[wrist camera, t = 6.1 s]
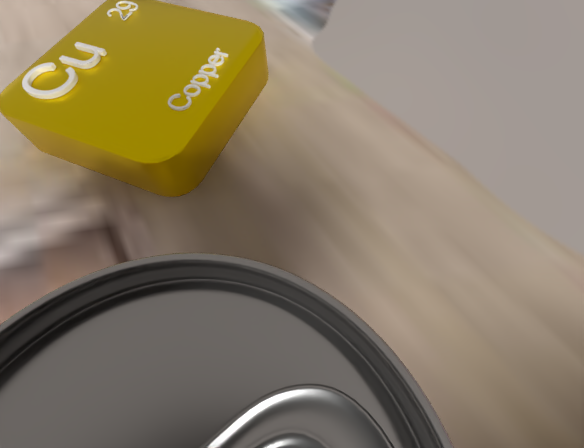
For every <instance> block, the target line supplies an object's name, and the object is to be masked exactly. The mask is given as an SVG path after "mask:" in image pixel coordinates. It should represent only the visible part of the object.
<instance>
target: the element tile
mask: <svg viewBox="0 0 584 448" xmlns="http://www.w3.org/2000/svg"><path fill="white" fill-rule="evenodd" d="M267 81H268V66H267V58H266V49H265V41H264V33H263V31H262V30H261V28H260V27H259V26H257V25H256V24H254V23H252V22H249V21H246V20H241V19H237V18H232V17H228V16H223V15H219V14H214V13H210V12H205V11H201V10H196V9H192V8H187V7H183V6H179V5H174V4H170V3H165V2H161V1H156V0H107V1H106V2H104V3H103V4H102V5H100V6H99V7H98V8H97V9H96V10H95V11H93V12H92V13H91V14H90V15H89V16H88V17H87V18H85V19H84V20H83V21H82V22H81V23H80V24H78V25H77V26H76V27H75V28H74V29H73V30H72V31H70V32H69V33H68V34H67V35H66V36H65V37H63V38H62V39H61V40H60V41H59V42H58V43H57V44H55V45H54V46H53V47H52V48H51V49H50V50H48V51H47V52H46V53H45V54H44V55H43V56H42V57H40V58H39V59H38V60H37V61H36V62H35V63H33V64H32V65H31V66H30V67H29V68H28V69H27V70H25V71H24V72H23V73H22V74H21V75H20V76H18V77H17V78H16V79H15V80H14V81H13V82H11V83H10V84H9V85H8V86H7V87H6V88H5V89H4V90H3V91H2V93H1V94H0V112H1V113H2V114H3V115H4V116H5V117H6V118H7V119H8V120H9V121H10V122H11V123H12V124H13V125H14V126H15V127H16V128H17V129H18V130H19V131H20V132H21V133H22V134H23V135H24V136H26V137H27V138H28V139H29V140H30V141H31V142H32V143H33V144H34V145H35V146H36V147H37V148H38V149H39V150H41V151H42V152H45V153H48V154H50V155H53V156H56V157H58V158H61V159H64V160H66V161H69V162H72V163H74V164H77V165H80V166H83V167H85V168H88V169H91V170H93V171H96V172H99V173H101V174H104V175H107V176H109V177H112V178H115V179H117V180H120V181H123V182H126V183H128V184H131V185H134V186H136V187H139V188H142V189H144V190H147V191H150V192H152V193H155V194H158V195H161V196H166V197H175V196H181V195H184V194H187V193H189V192H190V191H191V190H193V189H194V188H196V187H197V186H198V185H199V184H200V182H201V181H202V180H203V179H204V177H205V176H206V174H207V173H208V171H209V170H210V168H211V167H212V165H213V164H214V162H215V161H216V159H217V157H218V156H219V154H220V153H221V151H222V150H223V148H224V147H225V145H226V144H227V142H228V141H229V139H230V138H231V136H232V135H233V133H234V132H235V130H236V129H237V127H238V126H239V124H240V123H241V121H242V120H243V118H244V117H245V115H246V114H247V112H248V111H249V109H250V108H251V106H252V105H253V103H254V102H255V100H256V99H257V97H258V96H259V94H260V93H261V91H262V89H263V88H264V86H265V85H266V83H267Z"/></svg>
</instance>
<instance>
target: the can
mask: <svg viewBox="0 0 584 448" xmlns="http://www.w3.org/2000/svg"><path fill="white" fill-rule="evenodd" d="M0 448H454V447H453V445H452V442H451V440H450V438H449V436H448V434H447V432H446V430H445V428H444V426H443V425H442V423H441V421H440V419H439V417H438V415H437V414H436V412H435V410H434V408H433V407H432V405H431V403H430V402H429V400H428V398H427V397H426V395H425V394H424V392H423V391H422V389H421V387H420V386H419V385H418V383H417V382H416V380H415V379H414V377H413V376H412V374H411V373H410V372H409V370H408V369H407V368H406V366H405V365H404V364H403V363H402V361H401V360H400V359H399V358H398V356H397V355H396V354H395V353H394V352H393V350H392V349H391V348H390V347H389V346H388V345H387V344H386V342H385V341H384V340H383V339H382V338H381V337H380V336H379V335H378V334H377V333H376V332H375V331H374V330H373V329H372V328H371V327H370V326H369V325H368V324H367V323H366V322H365V321H363V320H362V319H361V318H360V317H359V316H358V315H357V314H355V313H354V312H353V311H352V310H351V309H349V308H348V307H347V306H345V305H344V304H343V303H342V302H340V301H339V300H337V299H336V298H334V297H333V296H332V295H330V294H329V293H327V292H325V291H324V290H322V289H321V288H319V287H317V286H315V285H314V284H312V283H310V282H308V281H306V280H304V279H302V278H301V277H298V276H296V275H294V274H292V273H290V272H287V271H285V270H282V269H280V268H277V267H274V266H271V265H268V264H265V263H262V262H258V261H255V260H250V259H246V258H241V257H236V256H230V255H223V254H212V253H177V254H166V255H158V256H151V257H146V258H141V259H136V260H132V261H128V262H124V263H120V264H117V265H114V266H110V267H107V268H104V269H102V270H99V271H96V272H93V273H91V274H88V275H86V276H83V277H81V278H79V279H77V280H74V281H72V282H70V283H68V284H66V285H64V286H62V287H60V288H58V289H56V290H54V291H52V292H50V293H48V294H47V295H45V296H43V297H42V298H40V299H38V300H36V301H35V302H33V303H32V304H30V305H28V306H27V307H25V308H24V309H22V310H21V311H19V312H18V313H16V314H15V315H13V316H12V317H10V318H9V319H8V320H6V321H5V322H3V323H2V324H1V325H0Z"/></svg>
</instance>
